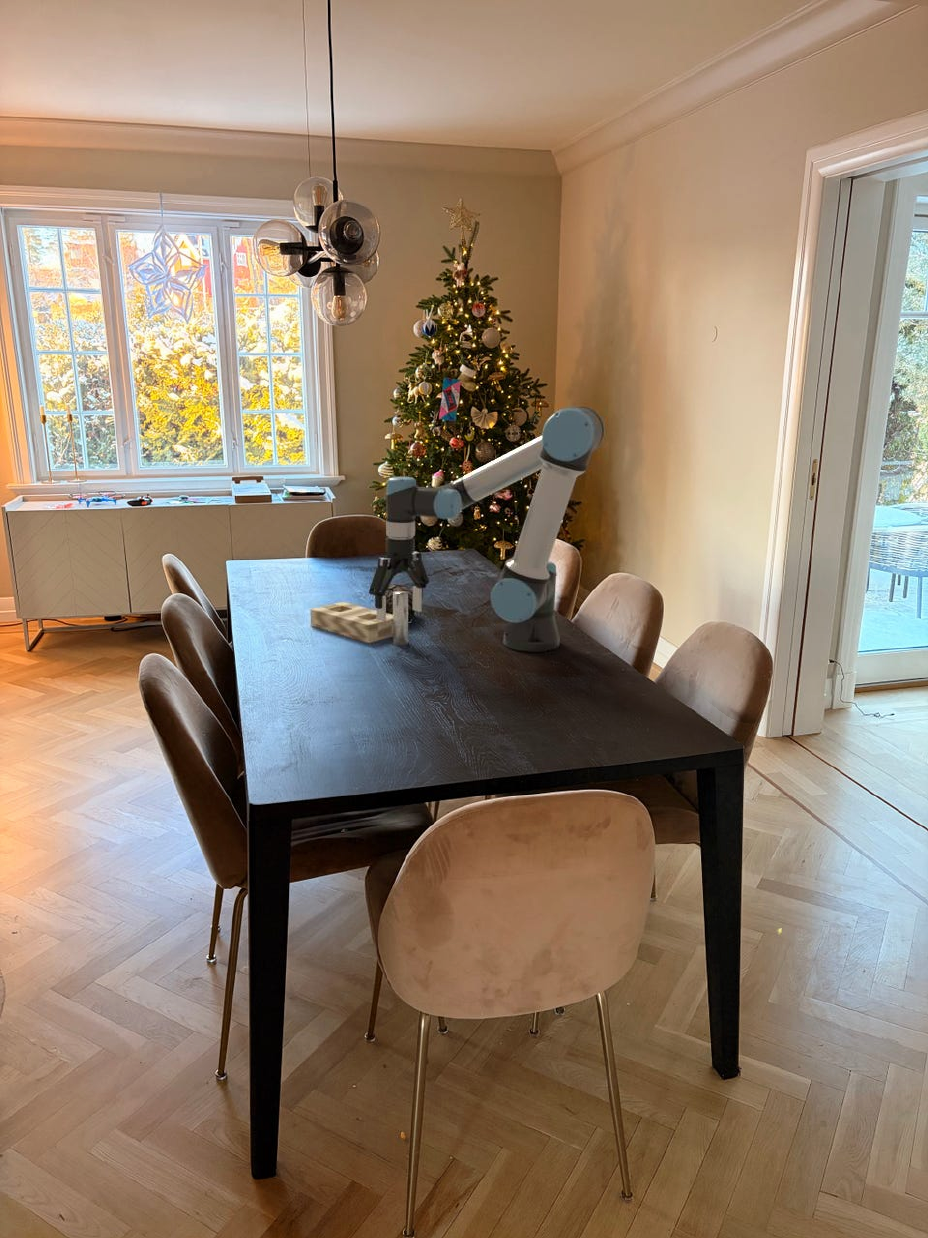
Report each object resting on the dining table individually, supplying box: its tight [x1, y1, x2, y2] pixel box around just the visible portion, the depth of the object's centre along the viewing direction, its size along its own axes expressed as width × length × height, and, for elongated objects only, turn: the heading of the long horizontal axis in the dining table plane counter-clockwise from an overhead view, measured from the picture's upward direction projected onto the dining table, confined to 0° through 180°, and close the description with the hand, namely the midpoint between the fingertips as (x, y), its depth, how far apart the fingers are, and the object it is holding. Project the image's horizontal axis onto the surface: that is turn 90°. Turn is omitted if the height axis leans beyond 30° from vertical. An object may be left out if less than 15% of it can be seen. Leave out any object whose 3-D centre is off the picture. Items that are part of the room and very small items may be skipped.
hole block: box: [309, 601, 393, 644], centre depth 251 cm, size 24×12×5 cm, turn 49°
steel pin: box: [392, 591, 409, 646], centre depth 239 cm, size 4×4×14 cm
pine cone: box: [383, 583, 416, 622], centre depth 262 cm, size 10×18×10 cm, turn 17°
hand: (399, 615), depth 238 cm, fingers open, 13 cm apart
